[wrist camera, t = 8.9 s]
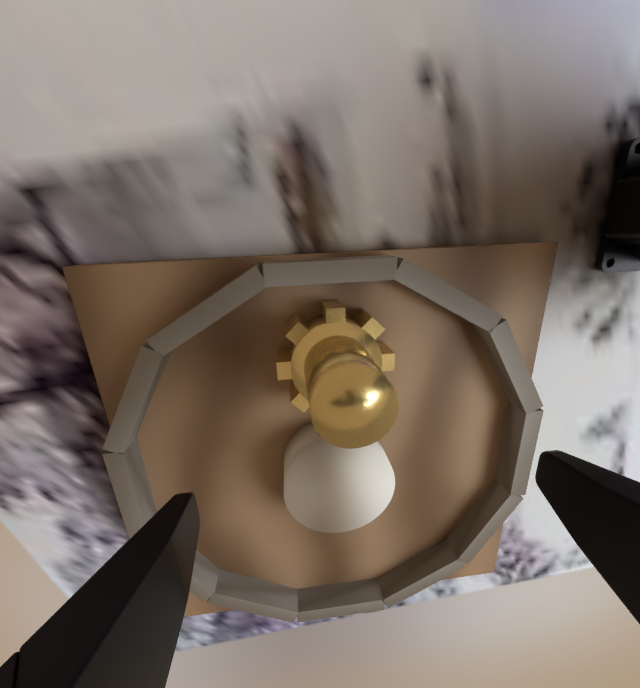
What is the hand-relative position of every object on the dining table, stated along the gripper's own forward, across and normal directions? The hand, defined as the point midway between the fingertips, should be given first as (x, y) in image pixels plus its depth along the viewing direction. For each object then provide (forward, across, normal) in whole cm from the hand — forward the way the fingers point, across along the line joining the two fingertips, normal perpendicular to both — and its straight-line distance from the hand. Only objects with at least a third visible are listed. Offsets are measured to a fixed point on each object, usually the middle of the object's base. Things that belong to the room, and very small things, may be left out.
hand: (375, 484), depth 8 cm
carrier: (+10, 0, +7) cm, 13 cm away
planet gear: (+10, 0, 0) cm, 10 cm away
